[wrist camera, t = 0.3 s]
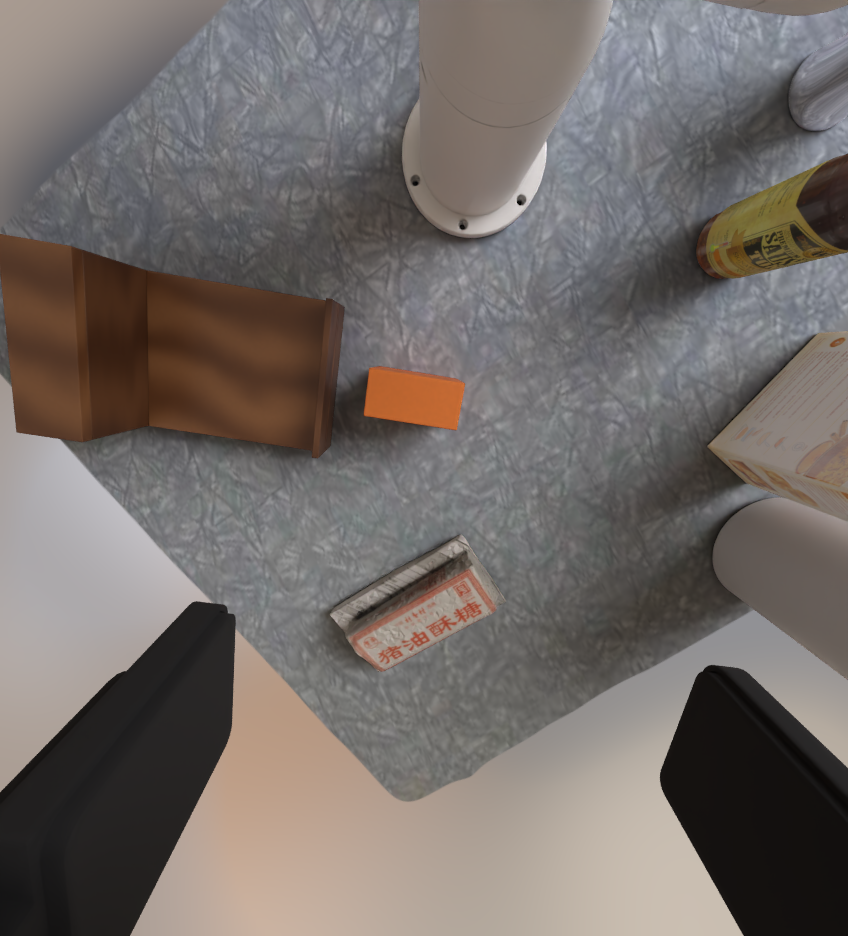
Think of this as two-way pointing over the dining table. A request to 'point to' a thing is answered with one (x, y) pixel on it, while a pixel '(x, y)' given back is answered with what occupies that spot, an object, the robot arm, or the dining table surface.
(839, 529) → the cylinder vase
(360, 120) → the dining table surface
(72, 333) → the shelf
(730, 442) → the coffeecake box
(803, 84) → the beer glass
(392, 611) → the packaged product
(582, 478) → the dining table surface
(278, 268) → the dining table surface
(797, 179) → the sauce bottle
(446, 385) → the block
